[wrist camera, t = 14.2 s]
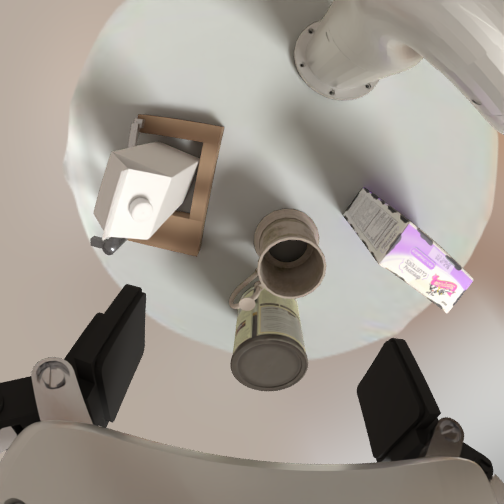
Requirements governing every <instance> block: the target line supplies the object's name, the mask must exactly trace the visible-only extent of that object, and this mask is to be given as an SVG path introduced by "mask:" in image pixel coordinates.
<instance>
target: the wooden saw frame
mask: <svg viewBox="0 0 504 504" xmlns="http://www.w3.org/2000/svg"><path fill="white" fill-rule="evenodd" d="M138 119H145V123H144V128H140V132H141V133H149V134H156V135H162V136H169V137H175V138H181V139H187V140H193V141H198V142H203V147H202V152H201V157H200V162H199V167H198V172H197V178H196V183H195V189H194V194H193V200H192V206H191V211H190V213H186V212H182V211H177V210H175V211H174V212H173V214H172V215H171V216H170V217H169V218H168V219H167V220H166V221H165V222H164V223H163V224H162V225H161V226H160V227H159V229H158V230H157V231H156V232H155V233H154V234H153V235H152V236H151V237H150V238H149V239H148V240H144V239H131V238H129V239H128V240H129V241H133V242H137V243H141V244H145V245H150V246H154V247H158V248H162V249H167V250H171V251H175V252H180V253H184V254H188V255H193V256H197V255H198V253H199V251H200V247H201V241H202V236H203V230H204V224H205V219H206V214H207V208H208V203H209V198H210V193H211V188H212V183H213V178H214V173H215V168H216V163H217V159H218V154H219V149H220V145H221V140H222V136H223V131H224V127H222V126H216V125H211V124H205V123H200V122H194V121H188V120H181V119H175V118H168V117H160V116H152V115H142V114H138Z"/></svg>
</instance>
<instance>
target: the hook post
mask: <svg viewBox="0 0 504 504" xmlns="http://www.w3.org/2000/svg"><path fill="white" fill-rule="evenodd" d="M128 239H129V238H118V237H110V238H109V239H105V240H104V241H103V240H102V238H101V237H97V236H93V237H92V238H91V246H94V247H98V248H102V249H103V251H104V253H105V254H107V255H112V254H113V253H114V252H115V251H116V250H117V249H118V248H119V247H120V246H121V245H122V244H123V243H124V242H125V241H127V240H128Z"/></svg>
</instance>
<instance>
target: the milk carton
mask: <svg viewBox="0 0 504 504" xmlns="http://www.w3.org/2000/svg"><path fill="white" fill-rule="evenodd" d="M199 162H200V159H199V158H197V157H194V156H192V155H190V154H188V153H185V152H183V151H181V150H178V149H176V148H174V147H171V146H169V145H167V144H164V143H162V142H159V141H157V142H152V143H147V144H143V145H138V146H134V147H129V148H125V149H121V150H117V151H113V152H111V154H110V157H109V160H108V163H107V167H106V170H105V173H104V176H103V180H102V183H101V187H100V190H99V194H98V197H97V201H96V205H95V209H94V215H95V217H96V218H97V220H98V222H99V224H100V225H101V227H102V229H103V230H104V233H103V237H102V240H103V241H104V240H105V239H106V238H107V237H118V238H131V239H144V240H148V239H149V238H150V237H151V236H152V235H153V234H154V233H155V232H156V231H157V230H158V229H159V227H160V226H161V225H162V224H163V223H164V222H165V221H166V220H167V219H168V218H169V217H170V216H171V215H172V214H173V212H174V211H175V210H176V209H177V208H178V207H179V206H180V205H181V204H182V203H183V202H184V199H185V197H186V195H187V192H188V190H189V188H190V185H191V183H192V181H193V178H194V176H195V174H196V172H197V169H198V167H199Z"/></svg>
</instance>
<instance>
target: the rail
mask: <svg viewBox="0 0 504 504" xmlns="http://www.w3.org/2000/svg"><path fill="white" fill-rule="evenodd" d="M144 123H145V119H135V120H134V123H132V124H131V130H130V136H129V142H128V148H129V147H134V146H137V145H138V139H139V133H140V128H144Z"/></svg>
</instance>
